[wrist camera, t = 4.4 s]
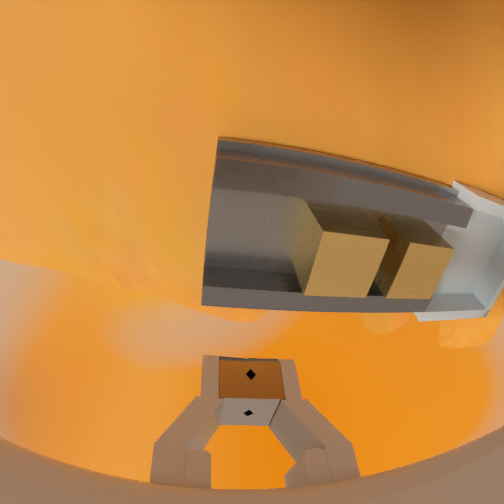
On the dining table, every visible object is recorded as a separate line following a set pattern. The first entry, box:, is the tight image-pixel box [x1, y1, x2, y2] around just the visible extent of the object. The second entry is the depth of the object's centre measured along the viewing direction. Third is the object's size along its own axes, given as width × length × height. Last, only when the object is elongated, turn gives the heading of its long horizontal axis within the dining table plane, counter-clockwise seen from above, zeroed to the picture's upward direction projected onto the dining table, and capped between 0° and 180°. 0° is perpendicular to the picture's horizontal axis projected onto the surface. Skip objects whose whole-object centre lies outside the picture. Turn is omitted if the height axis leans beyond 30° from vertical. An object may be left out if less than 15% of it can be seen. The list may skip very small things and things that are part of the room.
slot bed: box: [201, 137, 474, 313], centre depth 19 cm, size 17×10×3 cm, turn 81°
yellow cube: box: [374, 216, 455, 299], centre depth 18 cm, size 4×4×4 cm
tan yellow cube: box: [292, 203, 390, 298], centre depth 18 cm, size 4×4×4 cm
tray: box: [413, 181, 504, 321], centre depth 21 cm, size 10×11×3 cm
